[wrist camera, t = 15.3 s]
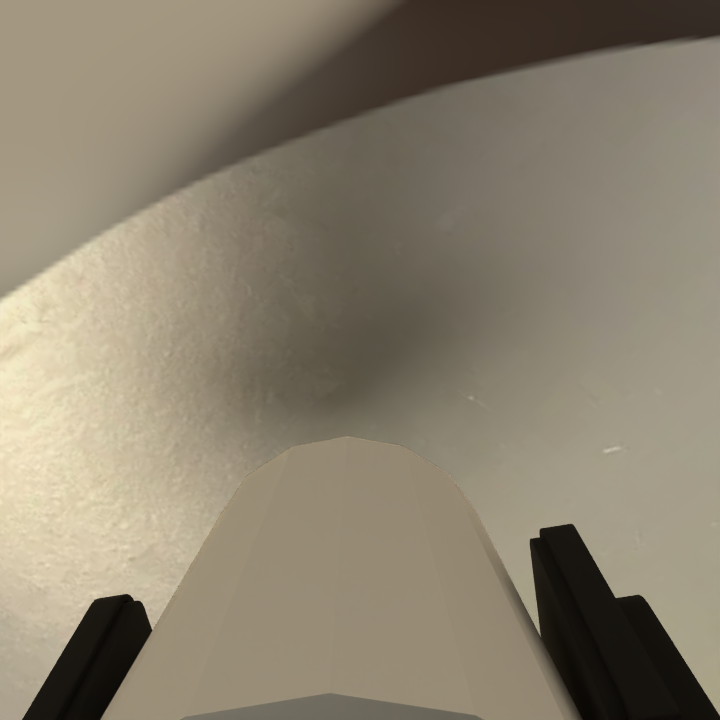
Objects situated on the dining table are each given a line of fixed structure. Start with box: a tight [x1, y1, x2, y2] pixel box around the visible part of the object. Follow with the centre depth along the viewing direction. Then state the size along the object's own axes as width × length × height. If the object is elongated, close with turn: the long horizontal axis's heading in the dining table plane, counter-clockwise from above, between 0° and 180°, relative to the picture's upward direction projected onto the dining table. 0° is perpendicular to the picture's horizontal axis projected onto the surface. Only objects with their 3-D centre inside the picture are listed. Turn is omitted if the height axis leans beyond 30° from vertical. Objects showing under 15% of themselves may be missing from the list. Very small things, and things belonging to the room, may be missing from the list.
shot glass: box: [101, 436, 583, 720], centre depth 10 cm, size 7×7×7 cm
